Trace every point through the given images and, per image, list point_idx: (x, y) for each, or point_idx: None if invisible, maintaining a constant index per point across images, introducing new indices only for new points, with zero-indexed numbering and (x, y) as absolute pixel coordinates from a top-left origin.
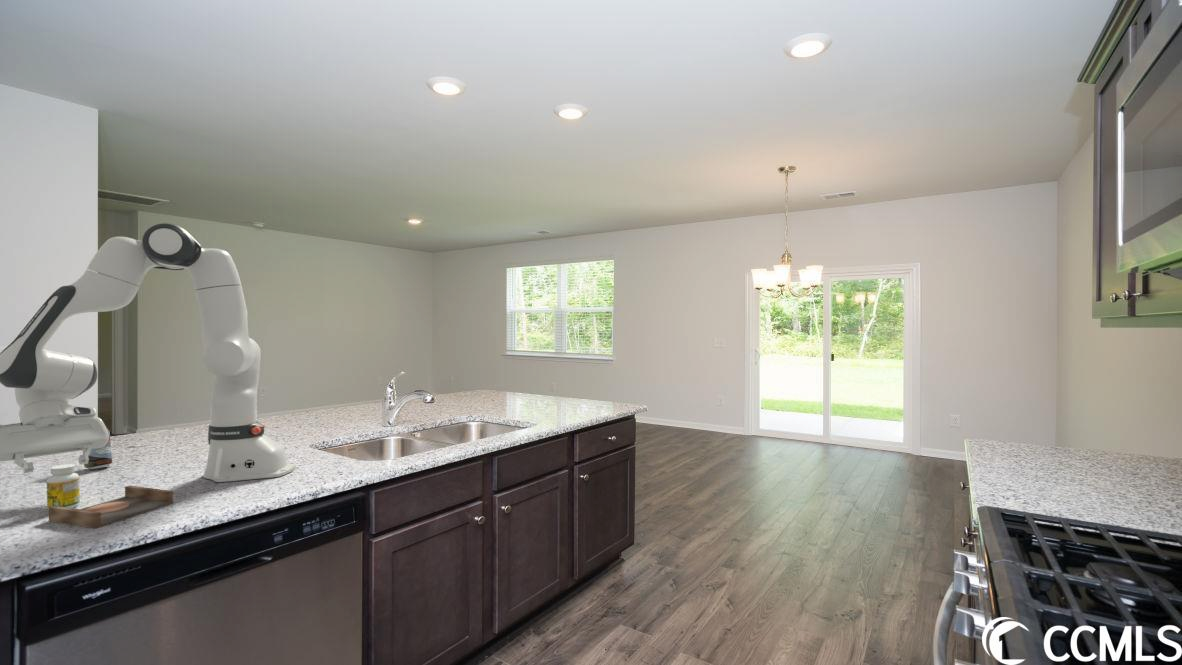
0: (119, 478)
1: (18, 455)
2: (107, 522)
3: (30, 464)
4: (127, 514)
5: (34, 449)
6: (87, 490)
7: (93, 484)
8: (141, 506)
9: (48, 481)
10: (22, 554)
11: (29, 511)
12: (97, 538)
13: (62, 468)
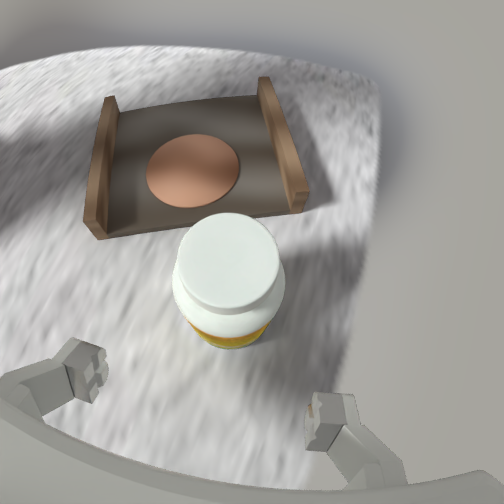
0: None
1: (391, 474)
2: (245, 97)
3: (331, 410)
4: (202, 103)
5: (314, 490)
6: None
7: None
8: (155, 125)
9: (284, 277)
10: (367, 94)
11: (298, 363)
12: (284, 69)
13: (248, 216)
